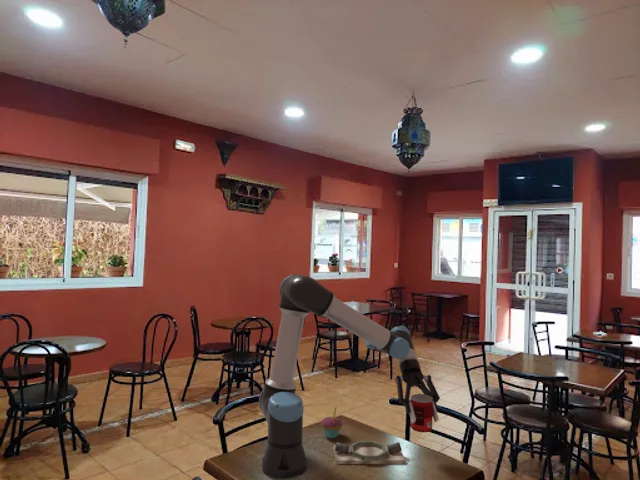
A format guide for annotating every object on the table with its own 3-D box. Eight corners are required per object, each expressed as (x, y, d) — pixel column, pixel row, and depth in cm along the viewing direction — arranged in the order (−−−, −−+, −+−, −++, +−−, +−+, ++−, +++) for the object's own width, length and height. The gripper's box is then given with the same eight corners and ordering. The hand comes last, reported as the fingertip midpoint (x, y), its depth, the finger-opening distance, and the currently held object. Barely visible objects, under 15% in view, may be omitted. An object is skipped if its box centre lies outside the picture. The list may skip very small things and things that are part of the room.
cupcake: (345, 434, 178) (346, 404, 178) (335, 442, 170) (335, 410, 171) (327, 429, 182) (327, 400, 182) (316, 436, 175) (316, 406, 175)
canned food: (430, 424, 162) (431, 394, 162) (433, 433, 154) (434, 401, 154) (409, 423, 163) (409, 393, 163) (411, 432, 155) (412, 400, 155)
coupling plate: (336, 464, 152) (336, 450, 152) (333, 448, 165) (333, 435, 165) (405, 464, 153) (405, 450, 154) (397, 448, 166) (397, 435, 166)
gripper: (430, 367, 176) (449, 424, 160) (380, 369, 172) (394, 427, 156) (436, 357, 171) (456, 414, 155) (385, 358, 167) (400, 417, 151)
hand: (425, 421), depth 155 cm, fingers closed on canned food, 8 cm apart
